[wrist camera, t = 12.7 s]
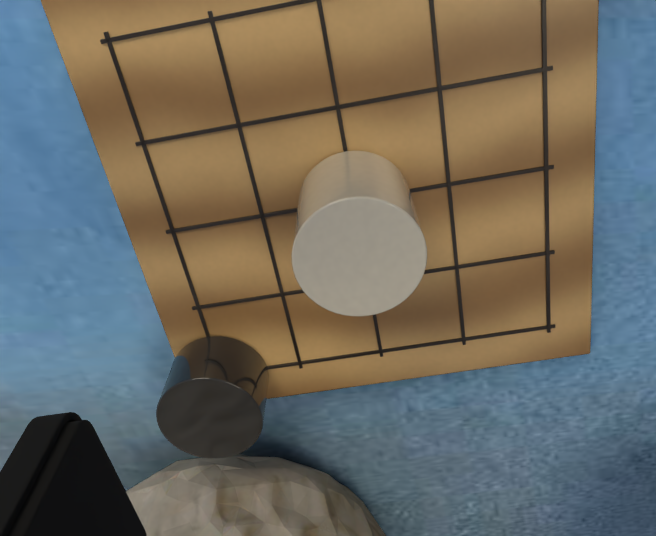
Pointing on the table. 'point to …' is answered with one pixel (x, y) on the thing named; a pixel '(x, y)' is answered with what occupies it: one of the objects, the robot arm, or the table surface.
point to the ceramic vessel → (248, 500)
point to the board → (339, 136)
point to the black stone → (214, 398)
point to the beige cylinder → (357, 235)
